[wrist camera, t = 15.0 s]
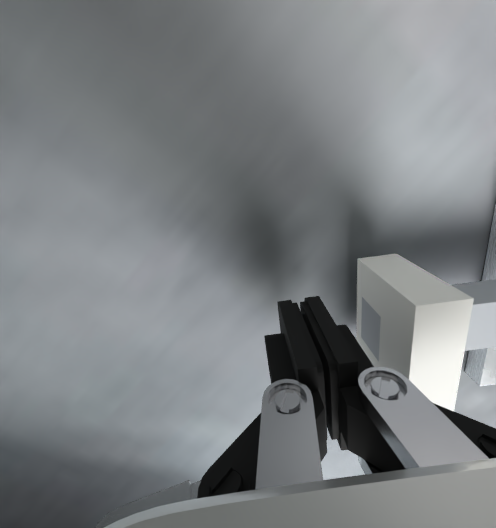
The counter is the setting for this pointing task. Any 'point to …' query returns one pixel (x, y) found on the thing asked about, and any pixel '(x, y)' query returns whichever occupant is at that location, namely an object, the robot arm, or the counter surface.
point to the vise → (491, 359)
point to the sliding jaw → (422, 323)
